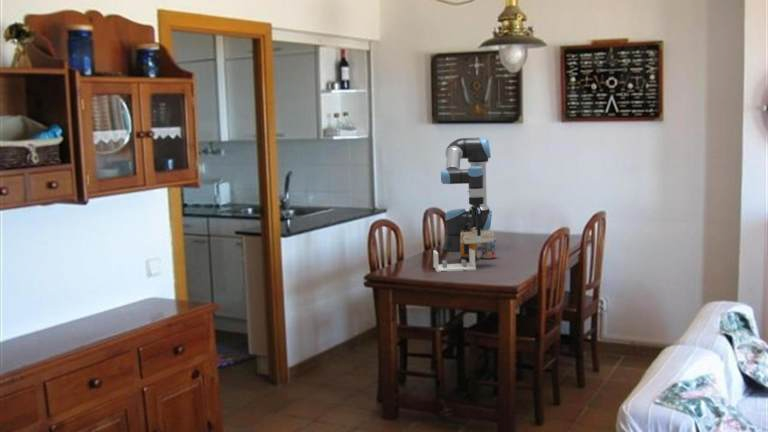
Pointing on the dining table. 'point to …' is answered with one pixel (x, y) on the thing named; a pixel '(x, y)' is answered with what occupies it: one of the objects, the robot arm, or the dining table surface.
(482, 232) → the cream long box
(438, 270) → the cradle
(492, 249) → the mug
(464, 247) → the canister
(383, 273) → the dining table surface
